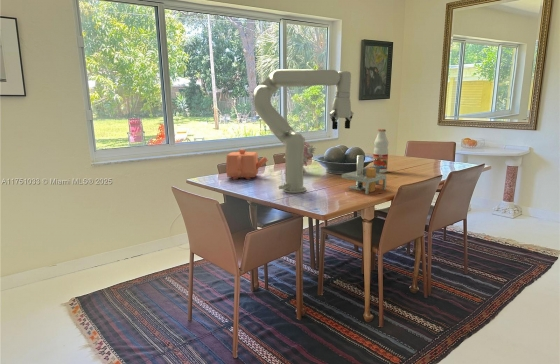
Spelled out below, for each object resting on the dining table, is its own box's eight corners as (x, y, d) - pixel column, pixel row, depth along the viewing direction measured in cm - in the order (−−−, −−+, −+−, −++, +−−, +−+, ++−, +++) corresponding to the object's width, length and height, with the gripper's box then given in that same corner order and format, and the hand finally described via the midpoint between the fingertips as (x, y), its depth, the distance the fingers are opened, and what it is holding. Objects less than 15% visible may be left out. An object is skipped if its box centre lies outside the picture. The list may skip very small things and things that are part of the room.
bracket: (363, 187, 206) (364, 169, 204) (359, 187, 208) (360, 168, 206) (378, 183, 215) (379, 166, 212) (375, 183, 217) (376, 165, 214)
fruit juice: (387, 170, 252) (389, 128, 246) (386, 173, 243) (388, 130, 237) (373, 169, 255) (375, 128, 249) (371, 172, 247) (373, 129, 240)
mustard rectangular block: (365, 190, 200) (366, 168, 198) (369, 189, 203) (370, 167, 200) (371, 191, 198) (372, 169, 195) (375, 190, 200) (376, 168, 197)
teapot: (270, 173, 247) (269, 147, 243) (265, 181, 225) (265, 152, 221) (233, 173, 249) (232, 147, 245) (225, 181, 227) (223, 152, 223)
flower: (271, 170, 251) (279, 139, 237) (293, 162, 265) (302, 132, 251) (291, 186, 241) (301, 155, 227) (313, 177, 255) (324, 147, 241)
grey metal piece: (367, 194, 192) (368, 159, 188) (341, 188, 205) (342, 156, 201) (385, 189, 202) (387, 156, 198) (360, 183, 215) (361, 153, 211)
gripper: (348, 96, 204) (346, 127, 207) (325, 95, 193) (324, 129, 197) (359, 96, 198) (357, 128, 202) (336, 95, 187) (335, 130, 191)
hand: (341, 128), depth 199 cm, fingers open, 9 cm apart
